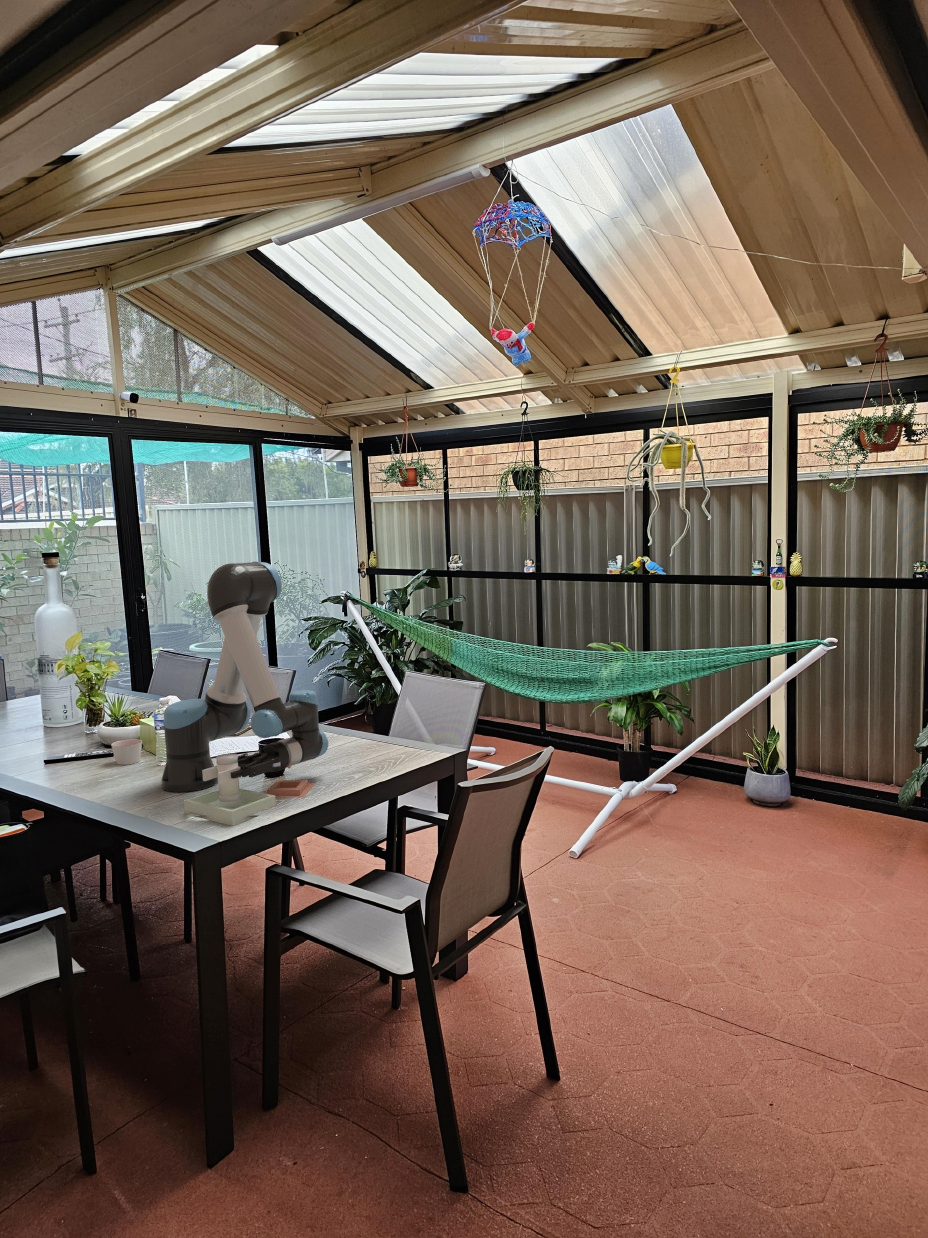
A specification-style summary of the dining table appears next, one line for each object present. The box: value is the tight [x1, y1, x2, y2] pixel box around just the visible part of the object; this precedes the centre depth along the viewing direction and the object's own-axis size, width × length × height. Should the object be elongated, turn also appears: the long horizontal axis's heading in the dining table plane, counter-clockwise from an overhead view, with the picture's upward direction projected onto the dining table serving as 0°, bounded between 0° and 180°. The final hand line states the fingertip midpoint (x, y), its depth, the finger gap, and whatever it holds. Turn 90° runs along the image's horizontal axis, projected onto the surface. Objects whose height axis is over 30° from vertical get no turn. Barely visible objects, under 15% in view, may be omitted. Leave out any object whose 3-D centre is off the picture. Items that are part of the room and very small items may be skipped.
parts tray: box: [183, 788, 277, 826], centre depth 211 cm, size 18×14×4 cm
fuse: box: [215, 753, 241, 802], centre depth 211 cm, size 5×5×11 cm
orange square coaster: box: [263, 779, 316, 799], centre depth 225 cm, size 12×12×2 cm
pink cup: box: [110, 738, 143, 766], centre depth 263 cm, size 9×9×6 cm
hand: (211, 777), depth 206 cm, fingers closed on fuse, 5 cm apart
